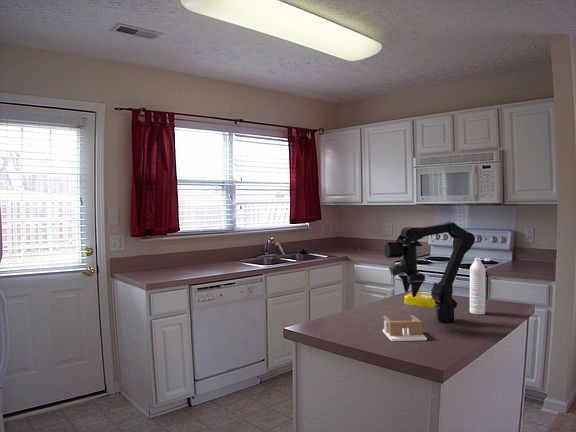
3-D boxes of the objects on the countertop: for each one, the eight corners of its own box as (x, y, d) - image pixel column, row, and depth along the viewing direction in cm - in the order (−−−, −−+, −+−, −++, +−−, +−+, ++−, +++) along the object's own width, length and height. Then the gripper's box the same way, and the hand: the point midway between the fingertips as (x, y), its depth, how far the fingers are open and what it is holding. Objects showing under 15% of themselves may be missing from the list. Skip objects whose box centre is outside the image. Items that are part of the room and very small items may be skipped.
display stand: (382, 331, 170) (382, 319, 170) (415, 330, 171) (415, 318, 171) (391, 341, 158) (391, 327, 158) (426, 340, 159) (426, 327, 159)
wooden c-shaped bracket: (383, 328, 171) (383, 315, 171) (413, 327, 172) (413, 314, 172) (390, 335, 161) (390, 322, 161) (422, 335, 162) (422, 321, 162)
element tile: (442, 302, 220) (442, 292, 219) (434, 308, 207) (434, 298, 207) (412, 298, 228) (412, 289, 228) (403, 304, 215) (403, 295, 215)
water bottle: (467, 313, 196) (467, 257, 195) (472, 310, 201) (472, 256, 200) (487, 316, 190) (487, 259, 190) (492, 313, 195) (492, 258, 194)
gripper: (384, 254, 190) (384, 290, 190) (397, 260, 171) (398, 300, 172) (409, 254, 190) (409, 289, 191) (425, 260, 172) (425, 299, 172)
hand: (410, 294), depth 181 cm, fingers open, 9 cm apart
